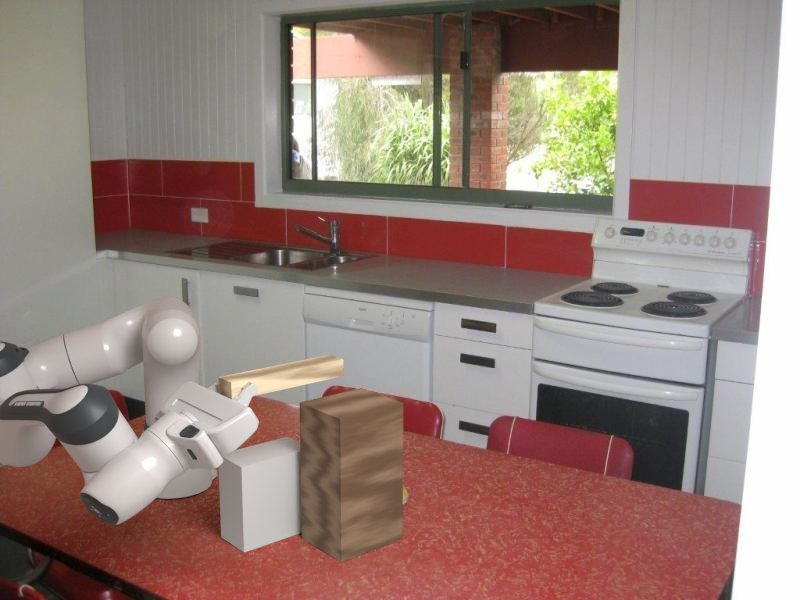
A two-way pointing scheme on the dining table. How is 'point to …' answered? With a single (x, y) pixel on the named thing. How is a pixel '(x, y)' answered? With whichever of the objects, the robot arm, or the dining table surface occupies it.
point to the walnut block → (351, 472)
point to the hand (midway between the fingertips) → (245, 381)
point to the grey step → (261, 494)
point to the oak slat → (283, 376)
